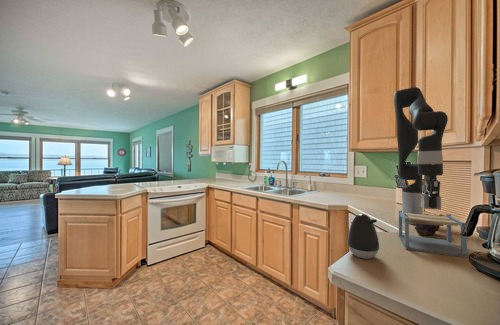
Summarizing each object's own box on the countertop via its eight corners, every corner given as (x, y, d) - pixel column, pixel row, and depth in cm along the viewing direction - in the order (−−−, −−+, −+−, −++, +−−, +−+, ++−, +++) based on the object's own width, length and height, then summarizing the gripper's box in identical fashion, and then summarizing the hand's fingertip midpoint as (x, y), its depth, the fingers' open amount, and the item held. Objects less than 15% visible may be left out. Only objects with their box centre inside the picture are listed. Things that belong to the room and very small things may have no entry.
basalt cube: (420, 206, 87) (420, 193, 87) (436, 207, 85) (436, 194, 85) (424, 208, 83) (424, 195, 83) (441, 209, 80) (440, 196, 81)
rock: (412, 236, 102) (441, 241, 95) (411, 219, 101) (440, 222, 94) (415, 227, 110) (441, 230, 103) (413, 211, 109) (440, 213, 103)
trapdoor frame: (398, 236, 99) (398, 210, 99) (449, 242, 91) (449, 213, 91) (405, 249, 83) (405, 218, 84) (468, 258, 75) (467, 223, 75)
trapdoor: (402, 220, 97) (402, 211, 97) (445, 224, 90) (445, 215, 90) (409, 229, 85) (409, 218, 85) (459, 234, 78) (459, 223, 78)
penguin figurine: (366, 264, 71) (365, 218, 71) (341, 253, 80) (341, 212, 81) (386, 259, 75) (386, 215, 75) (360, 248, 84) (360, 210, 85)
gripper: (413, 163, 92) (414, 202, 92) (422, 163, 79) (423, 208, 79) (436, 162, 89) (436, 204, 89) (449, 162, 76) (450, 210, 76)
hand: (430, 206), depth 84 cm, fingers closed on basalt cube, 5 cm apart
